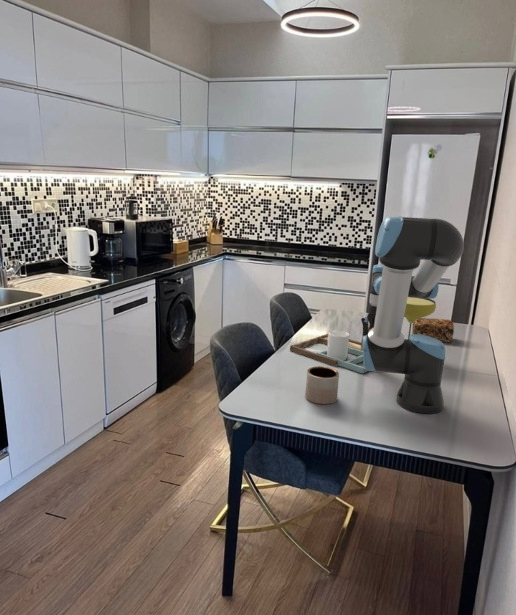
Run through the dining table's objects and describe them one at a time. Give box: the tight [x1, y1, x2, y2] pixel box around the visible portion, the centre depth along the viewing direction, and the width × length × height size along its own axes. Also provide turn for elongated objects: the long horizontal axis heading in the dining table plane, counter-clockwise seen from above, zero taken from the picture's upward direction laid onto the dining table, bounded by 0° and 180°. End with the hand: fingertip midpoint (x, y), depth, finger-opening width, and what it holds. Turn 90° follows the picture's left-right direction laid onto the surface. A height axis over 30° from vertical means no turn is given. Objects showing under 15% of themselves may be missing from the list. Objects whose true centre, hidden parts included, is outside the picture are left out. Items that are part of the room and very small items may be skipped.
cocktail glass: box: [404, 297, 437, 339], centre depth 205 cm, size 18×18×25 cm
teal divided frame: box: [316, 347, 369, 374], centre depth 197 cm, size 17×22×12 cm
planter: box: [304, 365, 340, 405], centre depth 161 cm, size 11×11×10 cm
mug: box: [326, 330, 350, 361], centre depth 202 cm, size 9×12×11 cm
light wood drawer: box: [324, 325, 370, 350], centre depth 215 cm, size 7×22×12 cm, turn 46°
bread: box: [411, 317, 455, 343], centre depth 233 cm, size 19×11×10 cm, turn 73°
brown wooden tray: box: [289, 333, 363, 367], centre depth 210 cm, size 29×24×2 cm
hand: (372, 361), depth 191 cm, fingers closed on teal divided frame, 2 cm apart
